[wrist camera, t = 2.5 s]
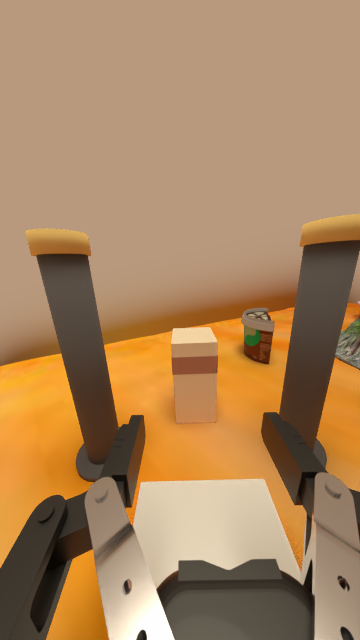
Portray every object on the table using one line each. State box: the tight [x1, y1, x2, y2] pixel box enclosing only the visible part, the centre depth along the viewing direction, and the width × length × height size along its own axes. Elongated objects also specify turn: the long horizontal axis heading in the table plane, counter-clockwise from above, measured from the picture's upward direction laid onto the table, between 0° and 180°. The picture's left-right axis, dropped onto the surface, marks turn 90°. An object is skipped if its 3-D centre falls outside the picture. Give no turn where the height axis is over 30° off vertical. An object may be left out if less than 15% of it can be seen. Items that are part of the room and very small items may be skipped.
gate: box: [25, 214, 360, 482], centre depth 17 cm, size 28×6×24 cm, turn 90°
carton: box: [171, 327, 218, 424], centre depth 25 cm, size 6×6×12 cm
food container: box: [241, 308, 274, 364], centre depth 42 cm, size 12×6×10 cm, turn 160°
